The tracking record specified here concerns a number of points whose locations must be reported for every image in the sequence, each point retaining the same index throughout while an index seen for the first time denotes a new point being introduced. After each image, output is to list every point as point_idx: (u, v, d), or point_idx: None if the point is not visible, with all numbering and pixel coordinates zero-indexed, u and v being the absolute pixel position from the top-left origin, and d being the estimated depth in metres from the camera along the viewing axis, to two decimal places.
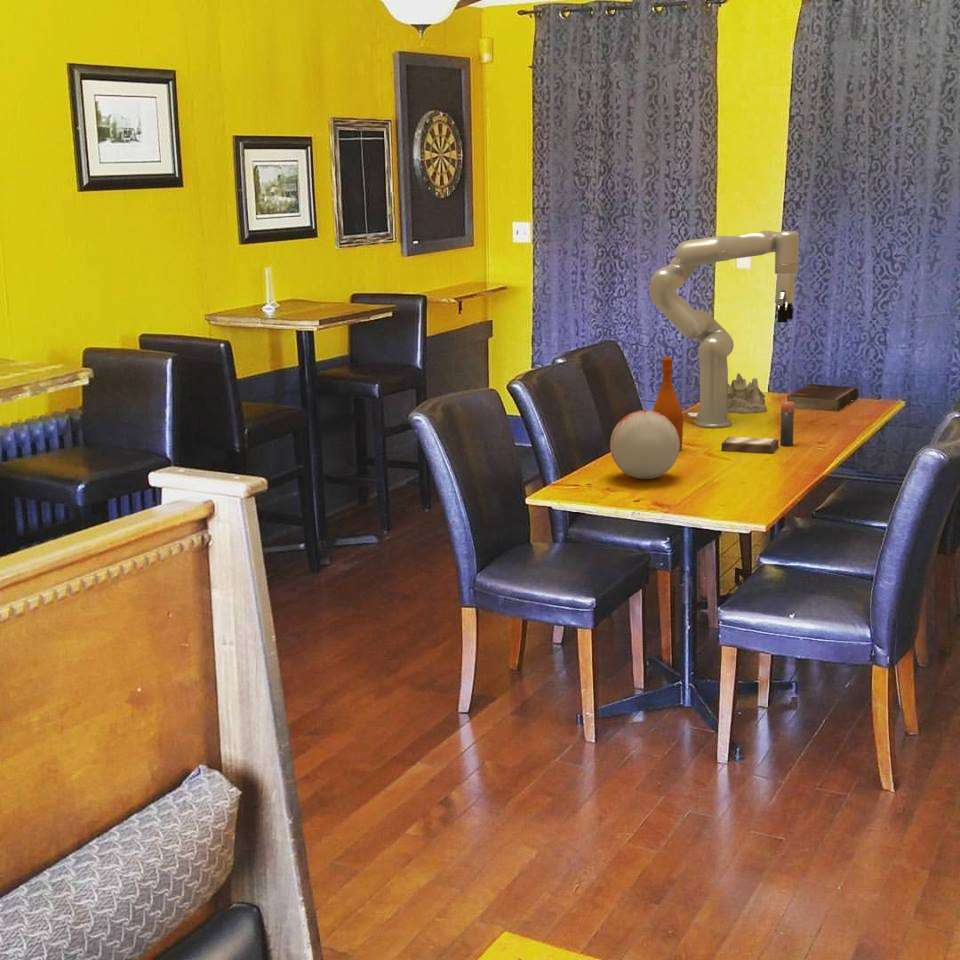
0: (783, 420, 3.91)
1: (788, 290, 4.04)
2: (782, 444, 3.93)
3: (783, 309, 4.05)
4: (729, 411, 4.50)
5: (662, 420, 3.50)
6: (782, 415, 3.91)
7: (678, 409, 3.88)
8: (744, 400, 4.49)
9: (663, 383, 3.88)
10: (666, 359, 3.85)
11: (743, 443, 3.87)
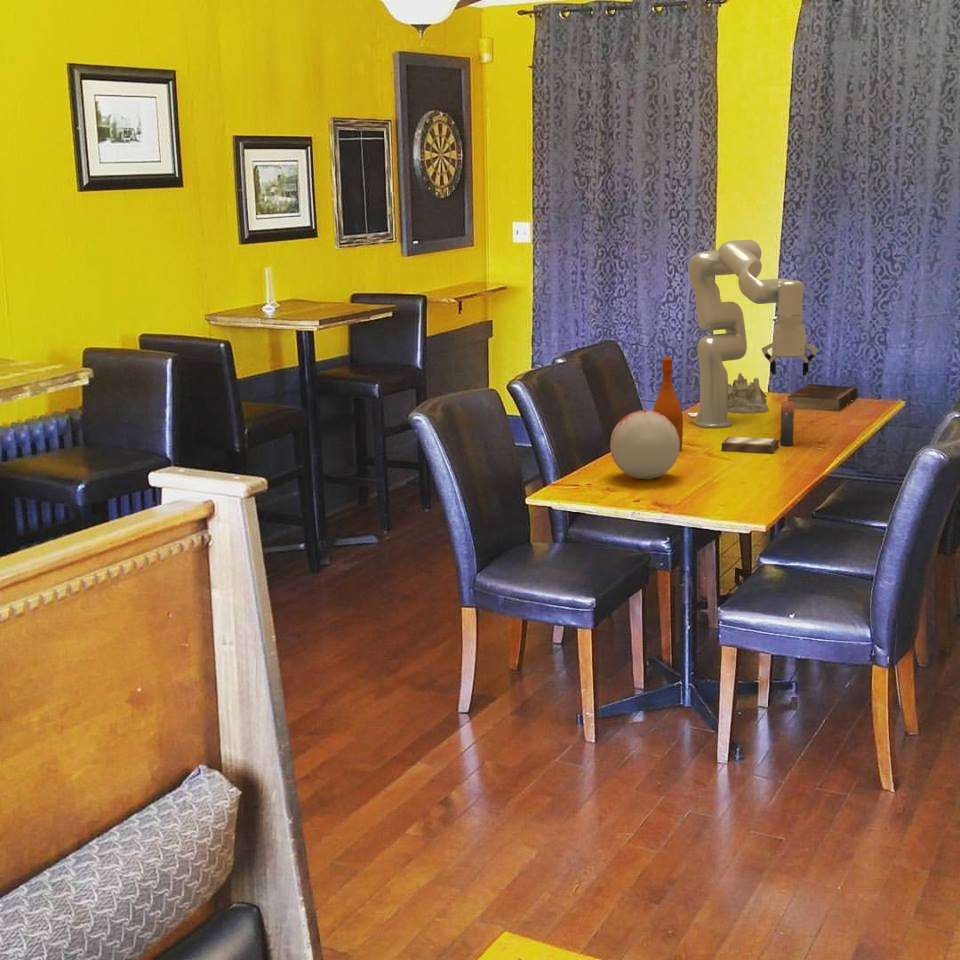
0: (783, 420, 3.91)
1: None
2: (782, 444, 3.93)
3: None
4: (731, 411, 4.50)
5: (662, 420, 3.50)
6: (782, 415, 3.91)
7: (678, 409, 3.88)
8: (746, 400, 4.49)
9: (663, 383, 3.88)
10: (666, 359, 3.85)
11: (743, 443, 3.87)
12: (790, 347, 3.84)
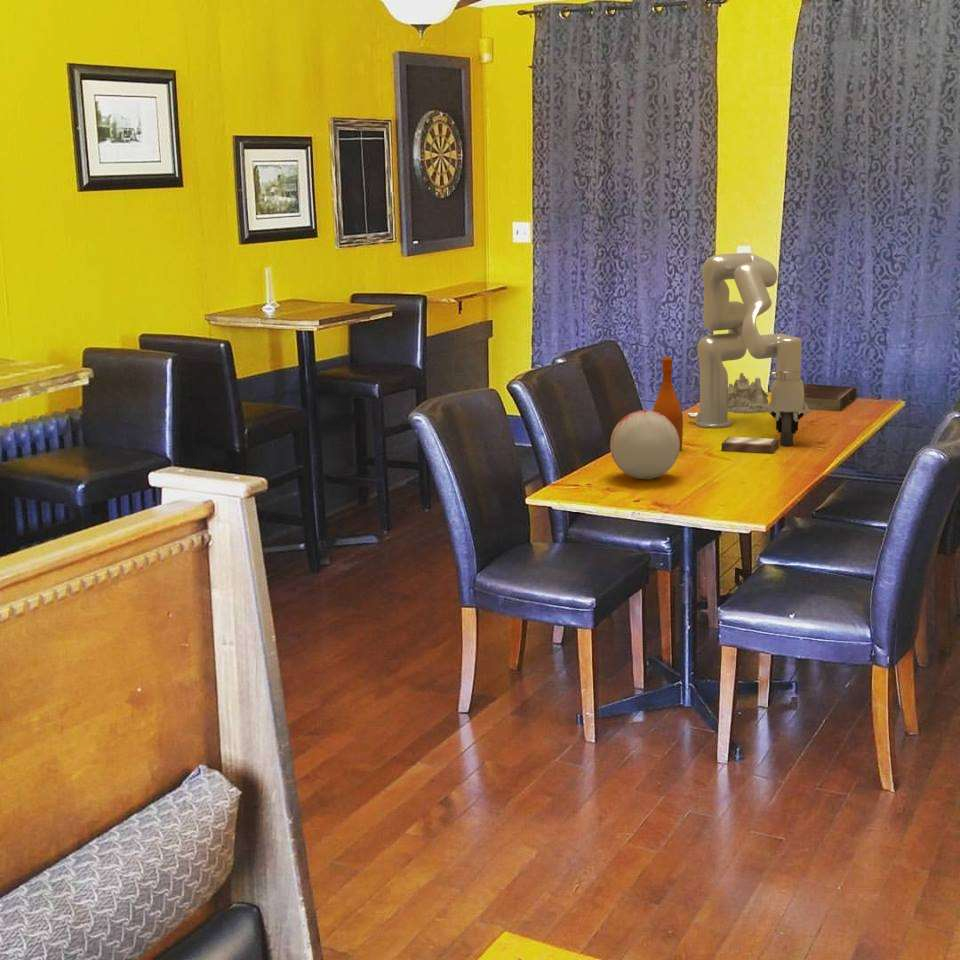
0: (783, 420, 3.91)
1: None
2: (782, 444, 3.93)
3: None
4: (732, 411, 4.50)
5: (663, 420, 3.50)
6: (782, 415, 3.91)
7: (678, 409, 3.88)
8: (747, 400, 4.49)
9: (663, 383, 3.88)
10: (666, 359, 3.85)
11: (743, 443, 3.87)
12: (788, 402, 3.88)
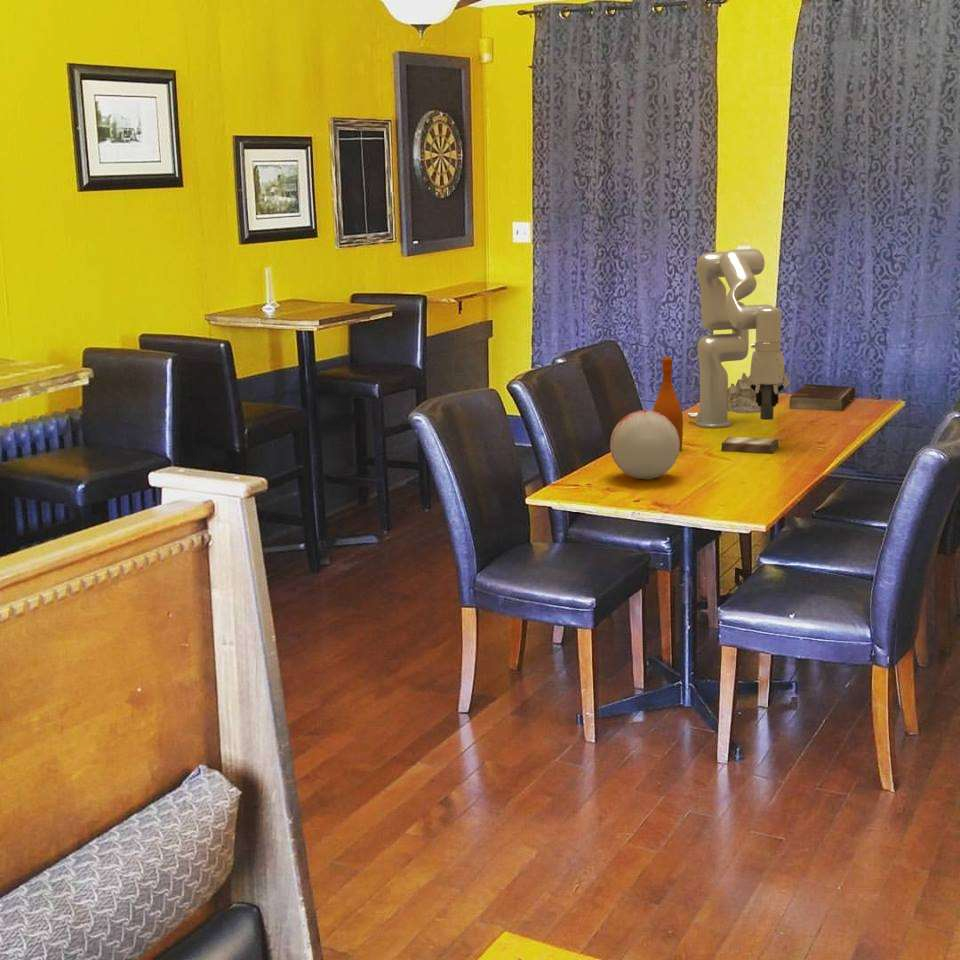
0: (763, 392, 3.83)
1: None
2: (762, 417, 3.85)
3: (778, 392, 3.83)
4: (734, 410, 4.51)
5: (663, 420, 3.50)
6: (762, 387, 3.83)
7: (678, 409, 3.88)
8: (749, 399, 4.50)
9: (663, 383, 3.88)
10: (666, 359, 3.85)
11: (743, 443, 3.87)
12: (768, 374, 3.80)
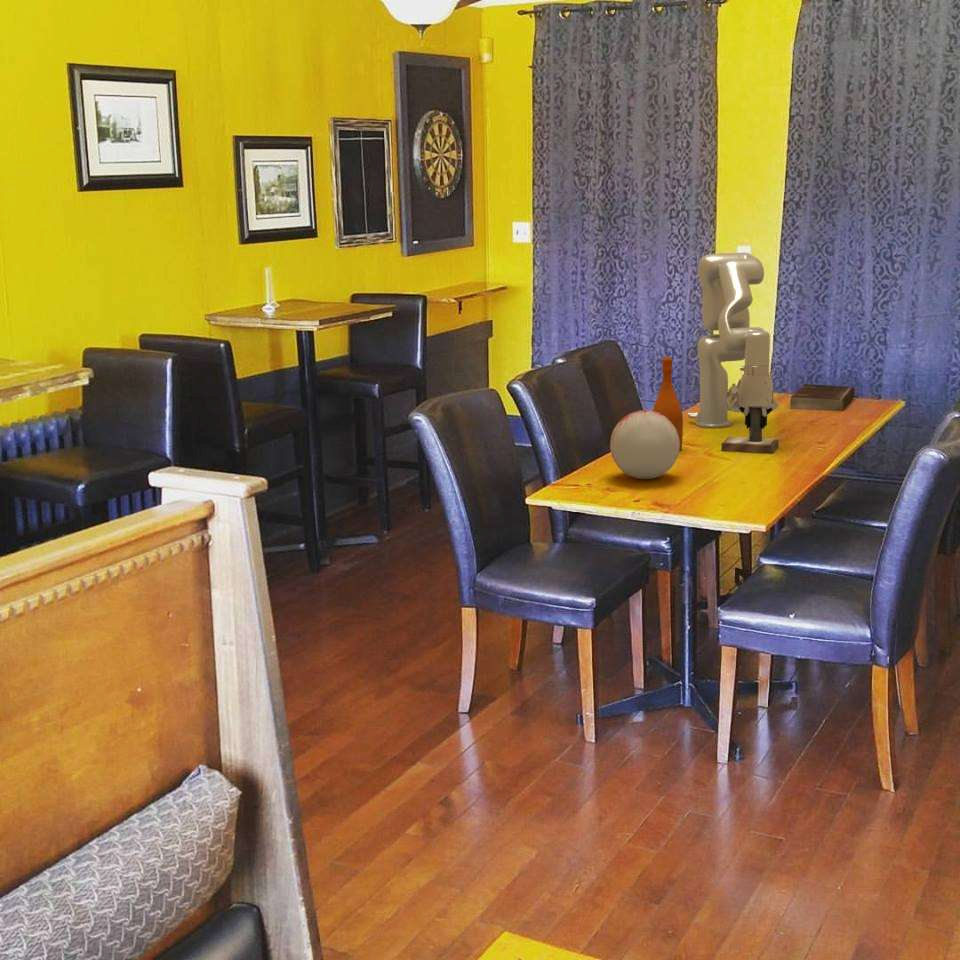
0: (752, 415, 3.86)
1: None
2: (751, 439, 3.88)
3: None
4: (736, 410, 4.51)
5: (662, 420, 3.50)
6: (751, 410, 3.86)
7: (678, 409, 3.88)
8: None
9: (663, 383, 3.88)
10: (666, 359, 3.85)
11: (743, 443, 3.87)
12: (757, 397, 3.83)
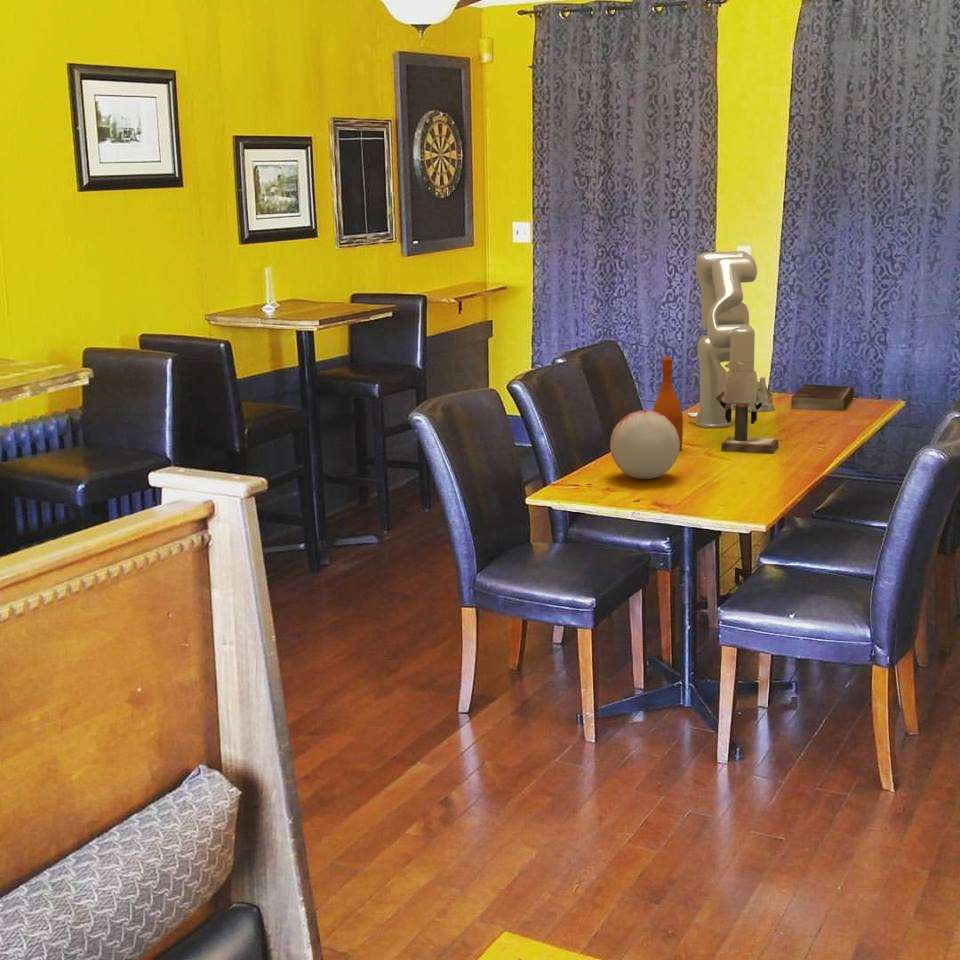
0: (737, 414, 3.88)
1: None
2: (736, 439, 3.90)
3: None
4: None
5: (662, 420, 3.50)
6: (736, 409, 3.88)
7: (678, 409, 3.88)
8: None
9: (663, 383, 3.88)
10: (666, 359, 3.85)
11: (743, 443, 3.87)
12: (742, 394, 3.85)
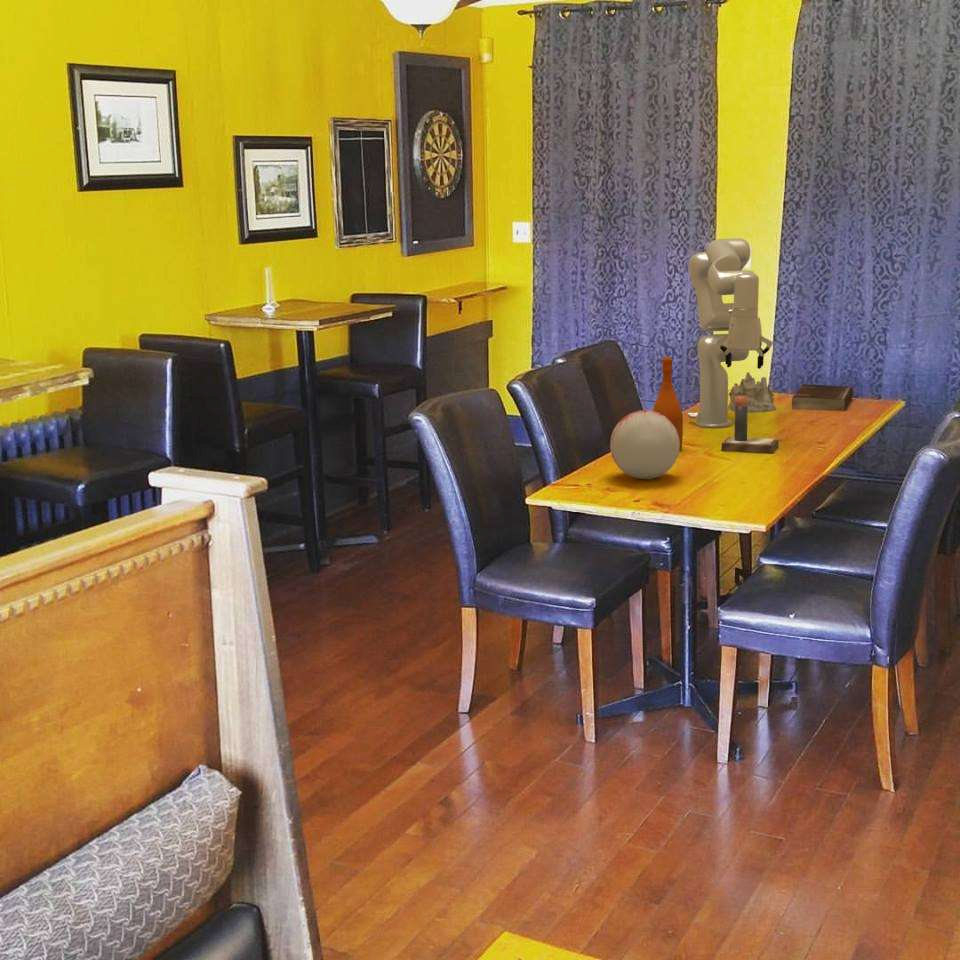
0: (737, 414, 3.88)
1: None
2: (736, 439, 3.90)
3: None
4: None
5: (662, 420, 3.50)
6: (736, 409, 3.88)
7: (678, 409, 3.88)
8: (753, 399, 4.50)
9: (663, 383, 3.88)
10: (666, 359, 3.85)
11: (743, 443, 3.87)
12: (745, 340, 3.84)
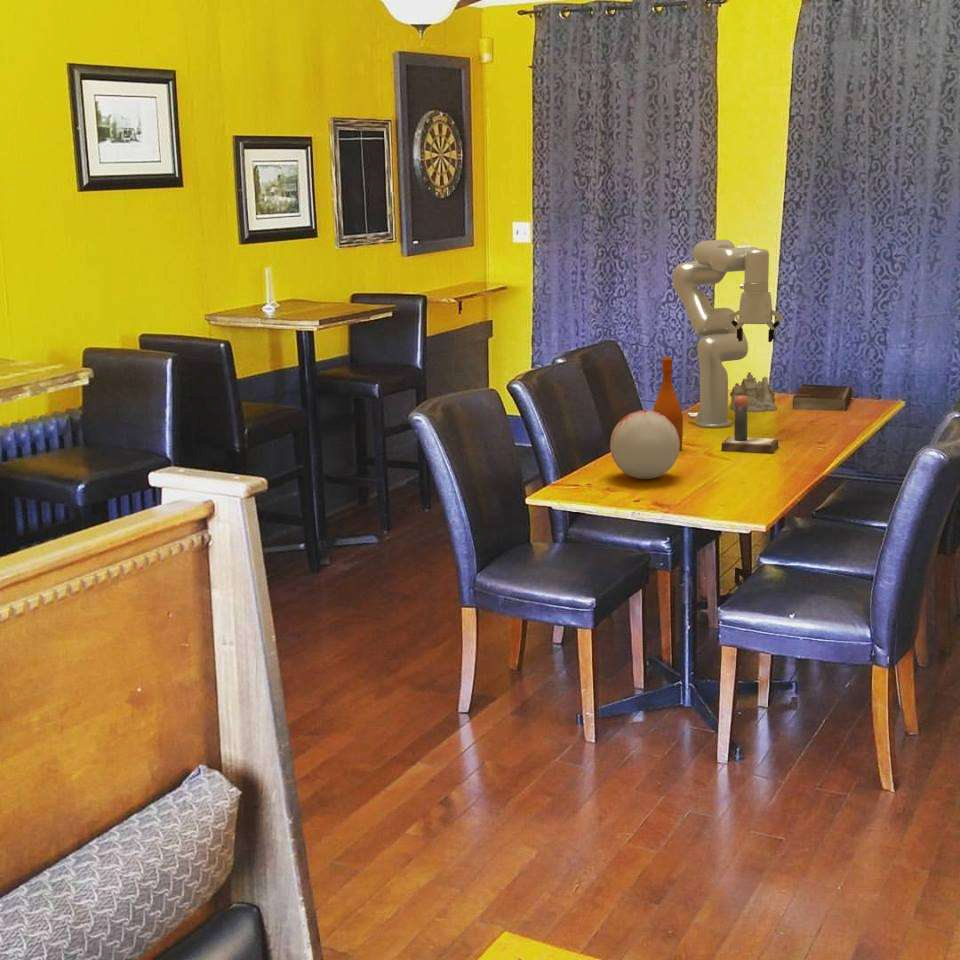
0: (737, 414, 3.88)
1: None
2: (736, 439, 3.90)
3: (775, 327, 3.94)
4: None
5: (662, 420, 3.50)
6: (736, 409, 3.88)
7: (678, 409, 3.88)
8: (755, 399, 4.50)
9: (663, 383, 3.88)
10: (666, 359, 3.85)
11: (743, 443, 3.87)
12: (756, 314, 3.93)
